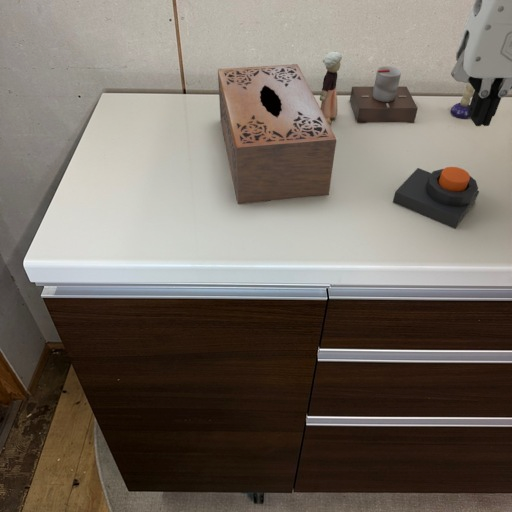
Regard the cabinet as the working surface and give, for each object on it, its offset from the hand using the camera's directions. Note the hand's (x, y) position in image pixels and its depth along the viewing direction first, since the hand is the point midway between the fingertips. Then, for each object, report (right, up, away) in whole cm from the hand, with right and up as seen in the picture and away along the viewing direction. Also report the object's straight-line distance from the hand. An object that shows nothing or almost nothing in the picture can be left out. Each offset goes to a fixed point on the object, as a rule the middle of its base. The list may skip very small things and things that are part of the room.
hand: (478, 120), depth 64 cm
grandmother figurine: (-16, +8, +28) cm, 34 cm away
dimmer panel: (-5, +10, +30) cm, 32 cm away
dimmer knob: (-5, +13, +28) cm, 31 cm away
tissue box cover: (-28, -1, +19) cm, 34 cm away
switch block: (-2, -10, +10) cm, 14 cm away
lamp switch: (-1, -7, +7) cm, 10 cm away
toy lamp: (+11, +10, +29) cm, 33 cm away
